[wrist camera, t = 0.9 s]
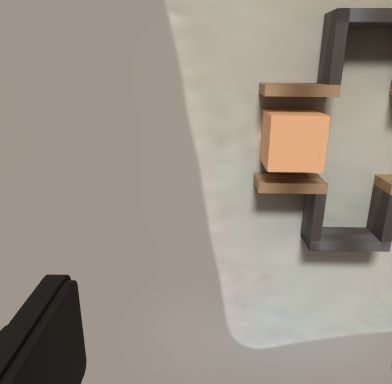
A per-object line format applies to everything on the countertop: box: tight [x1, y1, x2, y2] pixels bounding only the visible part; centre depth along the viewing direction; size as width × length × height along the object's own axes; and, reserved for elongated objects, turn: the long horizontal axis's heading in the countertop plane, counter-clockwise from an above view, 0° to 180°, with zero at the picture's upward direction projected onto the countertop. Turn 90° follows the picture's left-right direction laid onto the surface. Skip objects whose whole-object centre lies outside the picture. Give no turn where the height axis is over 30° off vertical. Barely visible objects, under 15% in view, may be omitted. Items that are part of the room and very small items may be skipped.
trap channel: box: [254, 8, 392, 252], centre depth 35 cm, size 21×22×4 cm
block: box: [260, 109, 330, 173], centre depth 34 cm, size 5×5×5 cm
